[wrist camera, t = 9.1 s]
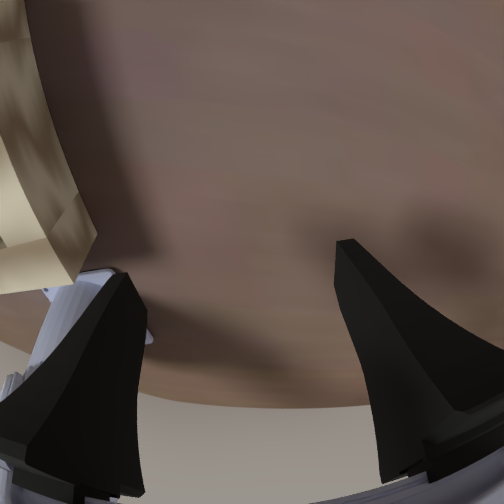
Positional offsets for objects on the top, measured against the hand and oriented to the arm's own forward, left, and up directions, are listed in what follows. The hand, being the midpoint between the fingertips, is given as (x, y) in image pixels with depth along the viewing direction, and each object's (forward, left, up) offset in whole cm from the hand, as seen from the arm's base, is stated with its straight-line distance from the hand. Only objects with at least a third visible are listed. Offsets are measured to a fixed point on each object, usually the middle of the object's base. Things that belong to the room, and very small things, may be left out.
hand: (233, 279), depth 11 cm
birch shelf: (+6, +19, -9) cm, 22 cm away
